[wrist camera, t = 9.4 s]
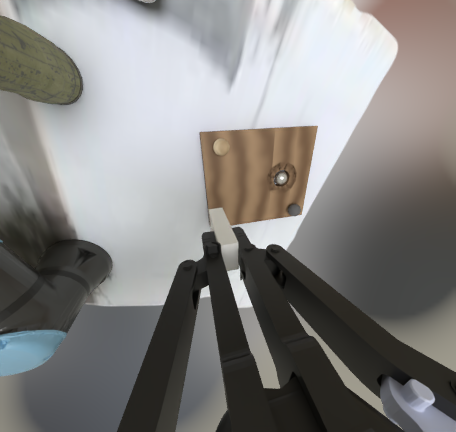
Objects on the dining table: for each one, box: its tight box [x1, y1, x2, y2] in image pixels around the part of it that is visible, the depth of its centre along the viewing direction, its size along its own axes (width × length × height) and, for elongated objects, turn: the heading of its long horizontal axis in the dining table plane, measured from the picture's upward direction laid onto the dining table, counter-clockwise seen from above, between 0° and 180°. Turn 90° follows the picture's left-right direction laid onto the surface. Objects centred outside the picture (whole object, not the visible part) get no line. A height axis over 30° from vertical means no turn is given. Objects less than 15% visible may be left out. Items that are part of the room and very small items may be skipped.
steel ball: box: [274, 171, 287, 185], centre depth 45 cm, size 4×4×4 cm
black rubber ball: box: [288, 204, 301, 216], centre depth 48 cm, size 4×4×4 cm
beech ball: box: [213, 138, 230, 156], centre depth 36 cm, size 4×4×4 cm
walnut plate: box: [200, 126, 318, 225], centre depth 45 cm, size 28×24×2 cm
